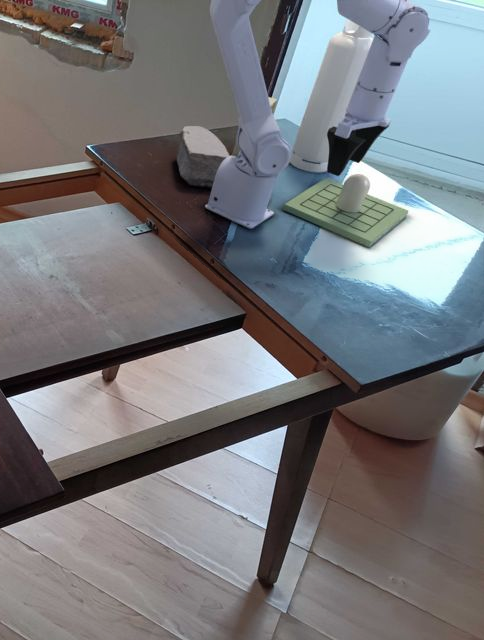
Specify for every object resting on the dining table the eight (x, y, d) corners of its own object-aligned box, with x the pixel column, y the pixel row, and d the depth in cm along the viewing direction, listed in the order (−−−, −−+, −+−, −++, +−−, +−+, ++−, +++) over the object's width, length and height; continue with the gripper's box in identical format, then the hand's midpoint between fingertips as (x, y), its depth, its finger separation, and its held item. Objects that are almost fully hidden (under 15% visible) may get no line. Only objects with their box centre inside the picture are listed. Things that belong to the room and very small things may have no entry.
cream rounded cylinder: (331, 205, 122) (344, 174, 118) (342, 198, 124) (354, 167, 120) (354, 215, 120) (367, 183, 116) (364, 207, 122) (378, 176, 118)
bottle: (339, 169, 136) (398, 19, 118) (307, 174, 134) (363, 22, 115) (311, 152, 142) (364, 5, 123) (280, 156, 139) (329, 8, 121)
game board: (282, 209, 122) (284, 203, 121) (323, 183, 131) (325, 176, 130) (368, 247, 114) (371, 240, 113) (406, 216, 123) (409, 210, 122)
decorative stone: (196, 197, 124) (241, 187, 127) (203, 161, 120) (250, 152, 123) (153, 162, 135) (196, 154, 138) (158, 128, 130) (202, 121, 133)
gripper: (381, 104, 100) (347, 188, 109) (419, 83, 108) (384, 163, 117) (336, 90, 104) (306, 172, 113) (376, 70, 112) (345, 148, 121)
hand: (343, 166), depth 115 cm, fingers open, 7 cm apart
